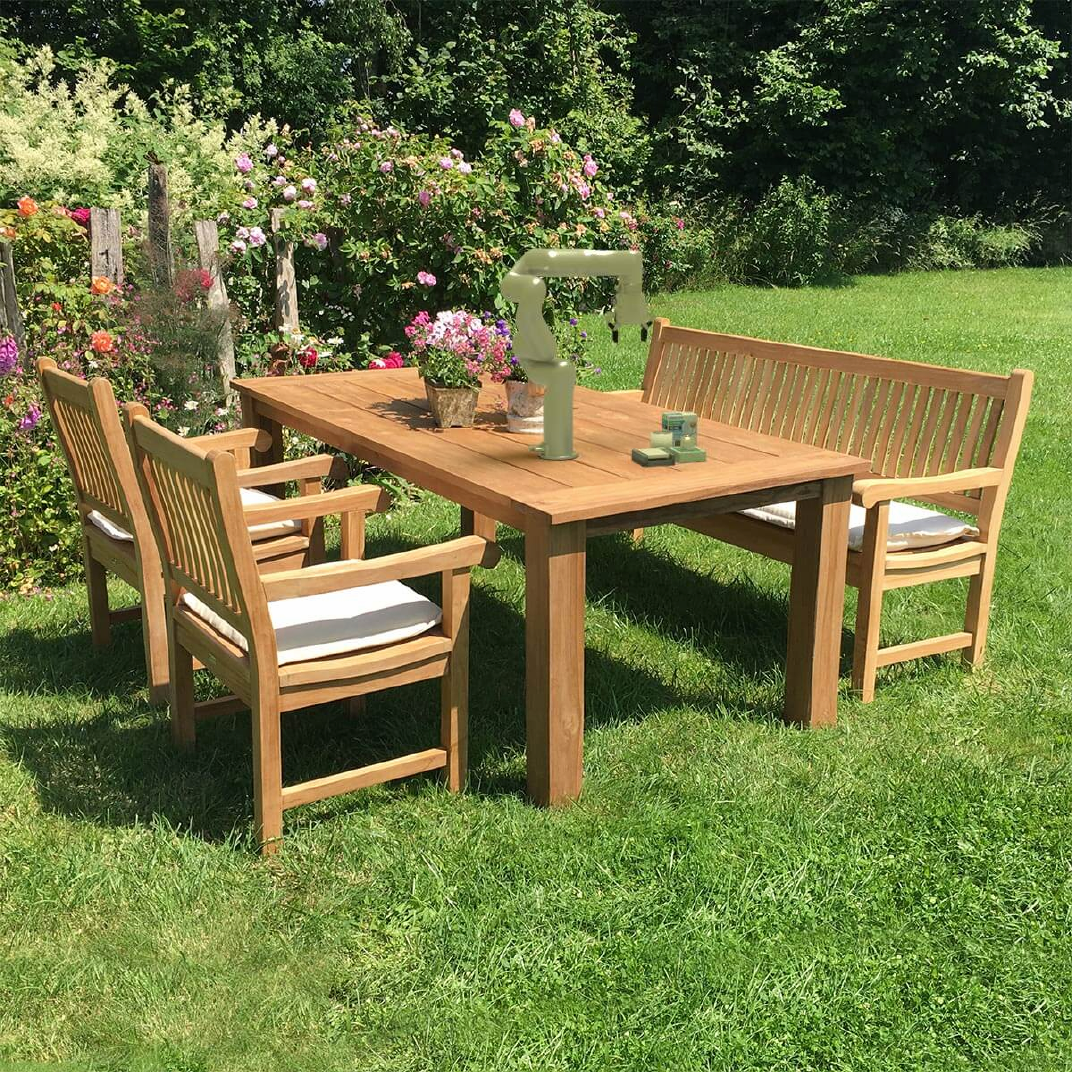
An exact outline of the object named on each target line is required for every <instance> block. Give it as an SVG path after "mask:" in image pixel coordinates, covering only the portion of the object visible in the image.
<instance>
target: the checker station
mask: <svg viewBox="0 0 1072 1072" xmlns="http://www.w3.org/2000/svg"><path fill="white" fill-rule="evenodd" d="M658 448H659V449H661V450H662V451H664V452H666V453H668V454H669V457H667V458H652V459H648V457H647V456H646V455H644V454H642V453H640V452H639V451H637V450H636V449H635V448H633V449H631V457H630V458H631V460H632V461H633V462H635V463H637V464H639V465H640V466H642V467H644V468H650V467H651V468H653V467H665V466H667V467H668V466H675V465H676V461H675V455H674V454H672V453H670V452H669V451H667V450H665V448H664V447H658Z"/></svg>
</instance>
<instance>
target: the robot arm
mask: <svg viewBox="0 0 1072 1072" xmlns="http://www.w3.org/2000/svg"><path fill="white" fill-rule="evenodd" d="M598 276H599V277H602V276H603V277H605V276H618V283H617V285H615V286H614V290H615V291H617V292H618V293H616V296H615V301H614V311H612V312H611V313H609V314H607V315H606V316H604V321H605V323H606V325H607V327H608V328H610V330H611V340H612V343H614V344H618V343H619V330H618V329H619V327H621V326H633V325H634V326H635V325H636V326H637V325H640V326H641V329H640V341H641V342H643V343H646V341H647V339H648V330H649V329H650V327H651V326H652V325H653V323H654V321H655V319H656V315H655V314H653V313H651V312H649V311H648V310H647V302H646V301H647V300H646V297H645V296H646V294H645V293H644V292H642V291H643V253H642V252H641V251H640V250H638V249H637V250H636V249H635V250H634V249H629V250H628V249H626V250H625V249H624V250H613V249H612V250H611V249H610V250H594V249H588V248H587V249H586V248H537V247H536V248H532V249H529V250H528V251H526V252H525V253H524V254H523V255H522V256H521V257H520V259H518V260H517V261H516V263H515V264H514V265H512V267H511V268H510V269H509V270H508V272H507V273H506V274H505V275H504V277H503V278H502V279H501V282H500V294H501V296H502V297H503V298H504V299H505V300H506V301H507V302H510V303H518V306H517V310H516V314H515V325H516V327H517V329H518V330H517V332H516V333H514V336H513V338H512V346H511V347H512V350H513V354H514V355H515V358H516V359H517V361H518V363H519V364H520V366H521V368H522V370H523V371H524V373H525V374H526V376H527V377H528V379H529V380H530V381H531V382H532V383H533V384H535V385H538V386H542V387H547V389H546V392H545V394H544V398H543V401H542V402H543V404H542V405H543V408H542V409H543V410H542V411H543V412H542V413H543V414H542V415H543V421H542V422H543V441H540V443H538V445H537V444H536V445H535V444H534V445H533V444H532V445H529V446H528V451H529V452H535V453H538V457H539V456H540V457H539V458H541V459H543V460H550V461H551V460H552V461H562V460H563V461H564V460H565V461H566V460H572V459H576V458H578V456H579V452H578V451H577V450H574V393H575V392H574V391H575V385H576V380H577V370H576V367H575V365H574V364H573V362H572V361H571V360H569V359H566V358H563V357H557V355H558V352H559V351H558V350H559V347H558V343H557V341H556V338H555V337H554V335H553V333H552V331H551V329H550V327H549V326H548V324H547V323H546V321H545V319H544V317H543V312H542V310H543V304H544V301H545V298H546V295H547V285H546V283H545V281H544V280H543V279H542V278H543V277H545V278H566V277H567V278H568V277H569V278H573V277H574V278H575V277H583V278H584V277H587V278H588V277H598ZM541 277H542V278H541ZM647 318H648V320H647ZM611 319H613V321H614V323H612V321H611Z"/></svg>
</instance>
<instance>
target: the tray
mask: <svg viewBox="0 0 1072 1072" xmlns="http://www.w3.org/2000/svg"><path fill="white" fill-rule="evenodd" d="M669 452H670V453H672V454H674V455H675V462H677V463H679V464H683V462H686V463H698V462H697V461H701V462H706V461H707V450H704V449H702V448H700V447H698V446H697V445H696V446H694V452H682V453H681V452H680V447H672V448H669Z"/></svg>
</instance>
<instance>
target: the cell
mask: <svg viewBox="0 0 1072 1072" xmlns="http://www.w3.org/2000/svg"><path fill="white" fill-rule="evenodd" d="M694 443H695V437H694V436H690V435H685V436H681V442H680V452H681V453H682V452H694Z"/></svg>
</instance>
